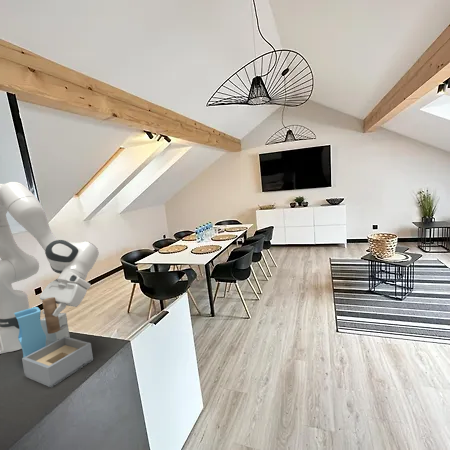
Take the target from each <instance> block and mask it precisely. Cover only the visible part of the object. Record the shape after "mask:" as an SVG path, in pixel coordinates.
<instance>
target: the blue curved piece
mask: <svg viewBox="0 0 450 450" xmlns="http://www.w3.org/2000/svg"><path fill="white" fill-rule="evenodd" d="M29 308H30V307H29ZM41 312H42V311H41V309H40V308H39V307H38V306H34V307H31V308H30V309H26V310H23V311H19V312H16V313H14V314H15V316H16V318H17V320H18V323H19V336H18V339H19V342H20V344H21V347H22V349H21V351H22V358H24V357H26V356H28V355H30V354H32V353H34V352H36V351H38V350H39V349H41V348H43V347H45V346H46V335H45V333H44V331H43V329H42V326H41V321H40V320H41V314H42V313H41Z"/></svg>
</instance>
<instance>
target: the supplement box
mask: <svg viewBox="0 0 450 450" xmlns="http://www.w3.org/2000/svg"><path fill="white" fill-rule="evenodd" d="M58 318H59V324H60V330H59V331H58V332H55V333H52V334H48V332H47V326H46V320H45V317H43V318H40V321H41V326H42V329H43V331H44V333H45V335H46V346H47V345H49V344H51V343H53V342H55V341H57V340H59V339H61V338H63V337H65V336H66V337H69V338H71V337H70V330H69V325H68V324H69V323H68V318H67V313H66V312H60V313H59V315H58Z"/></svg>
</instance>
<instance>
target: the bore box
mask: <svg viewBox="0 0 450 450" xmlns="http://www.w3.org/2000/svg"><path fill="white" fill-rule="evenodd" d="M21 360H22V367H23V371H24V377H25V378H27V379H30V380H32V381H34V382H37V383H39V384H42V385H44V386H46V387H48V388H50V389H52V388H53V387H55V386H56V385H58V384H60V382H63V381H64V380H66V378H68V377H70V376H72V375H73V374H74V373H76V372H78V371H79V370H81V369H83V368H84V367H86V366H87V365H88V364H90V363H92V362H93V361H94V356H93V349H92V343H91V342H88V341H83V340H80V339H76V338H73V337H70V338H69V337H66V336H65V337H63V338H61V339H59V340H57V341H55V342H53V343H51V344H49V345H47V346H45V347H43V348H41V349H39V350H38V351H36V352H34V353H32V354H30V355H28V356H26V357H24V358H23V357H22V358H21Z"/></svg>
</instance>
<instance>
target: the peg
mask: <svg viewBox="0 0 450 450" xmlns="http://www.w3.org/2000/svg"><path fill="white" fill-rule="evenodd" d="M41 301H42V308H43V311H44V314H43V315H44V318H45V320H46V326H47V332H48V334H52V333H55V332H58V331H59V330H60V324H59V318H58V316H57V317H55V316H52V315H51V313H52V312H53V310H56V308H57V307H58V306H57V304H56V300H55V297H51V298H47V299H44V300H41Z"/></svg>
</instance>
